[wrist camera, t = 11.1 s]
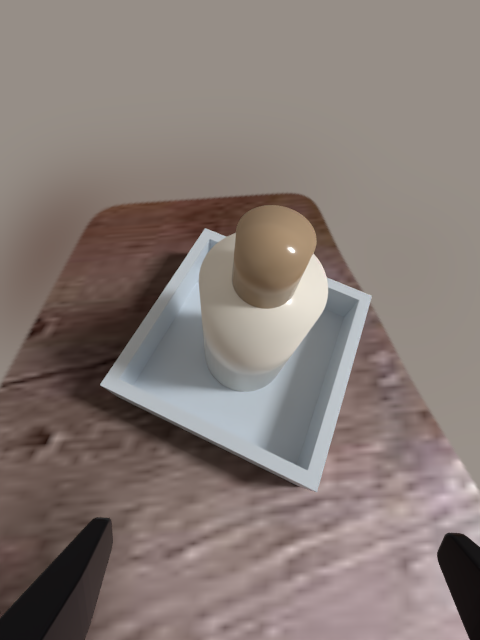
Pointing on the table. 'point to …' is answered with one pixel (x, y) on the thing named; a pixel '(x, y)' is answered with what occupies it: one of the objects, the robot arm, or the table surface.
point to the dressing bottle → (260, 296)
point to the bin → (236, 406)
